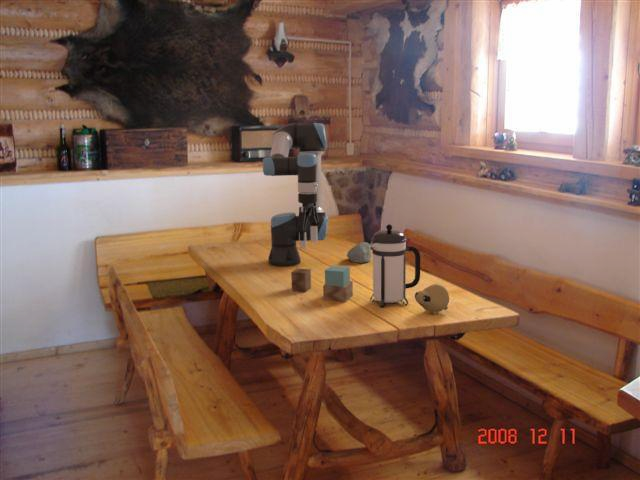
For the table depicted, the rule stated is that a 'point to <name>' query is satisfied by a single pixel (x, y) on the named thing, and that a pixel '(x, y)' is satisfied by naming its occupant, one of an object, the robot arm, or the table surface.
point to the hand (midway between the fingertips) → (308, 245)
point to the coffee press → (391, 266)
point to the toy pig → (433, 298)
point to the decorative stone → (360, 253)
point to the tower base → (338, 292)
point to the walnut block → (301, 280)
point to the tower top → (337, 276)
